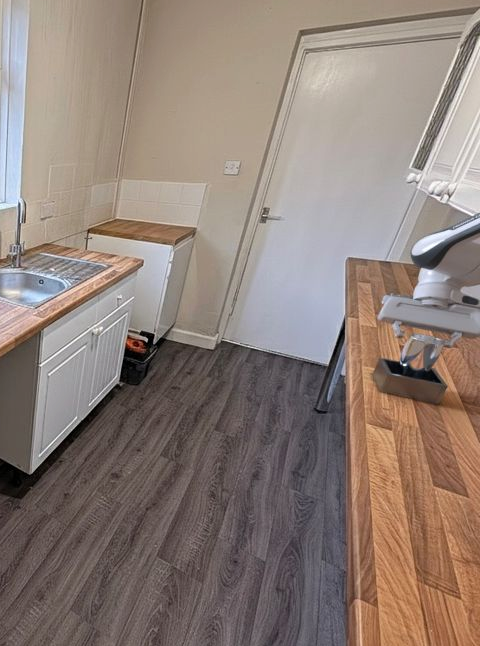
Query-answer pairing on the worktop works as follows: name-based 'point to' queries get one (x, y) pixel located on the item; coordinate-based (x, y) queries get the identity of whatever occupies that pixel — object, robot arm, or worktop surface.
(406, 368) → the metal tumbler
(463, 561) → the worktop surface
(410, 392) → the dark gray square tray
